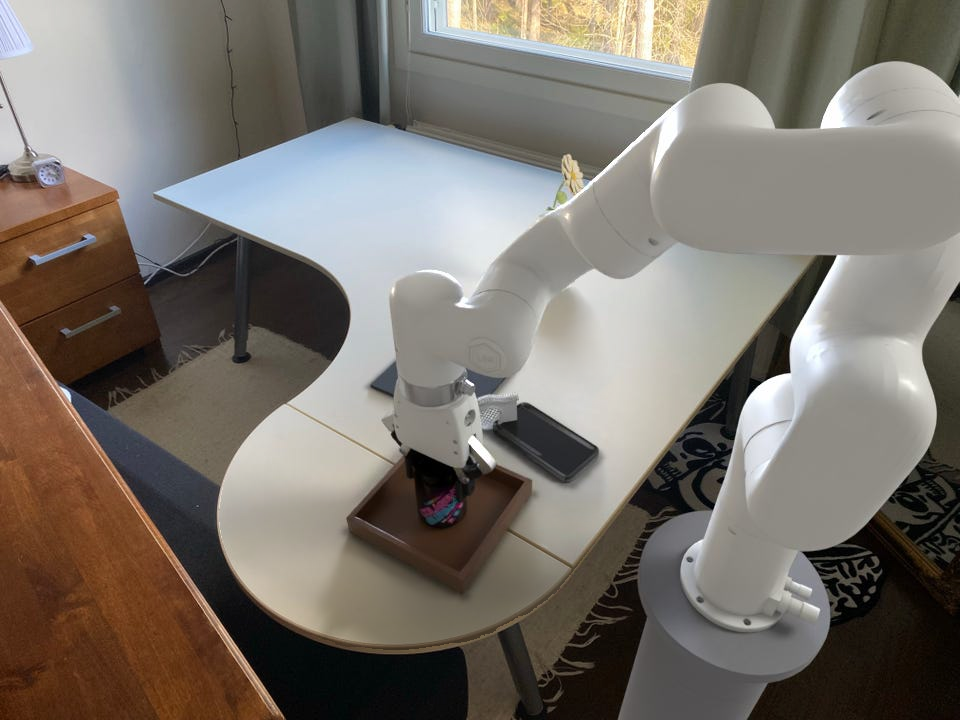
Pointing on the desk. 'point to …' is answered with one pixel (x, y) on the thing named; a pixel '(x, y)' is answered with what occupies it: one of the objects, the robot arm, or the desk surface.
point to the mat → (481, 382)
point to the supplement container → (436, 492)
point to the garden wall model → (504, 407)
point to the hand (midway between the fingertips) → (440, 482)
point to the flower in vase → (568, 184)
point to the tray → (433, 550)
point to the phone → (547, 442)
